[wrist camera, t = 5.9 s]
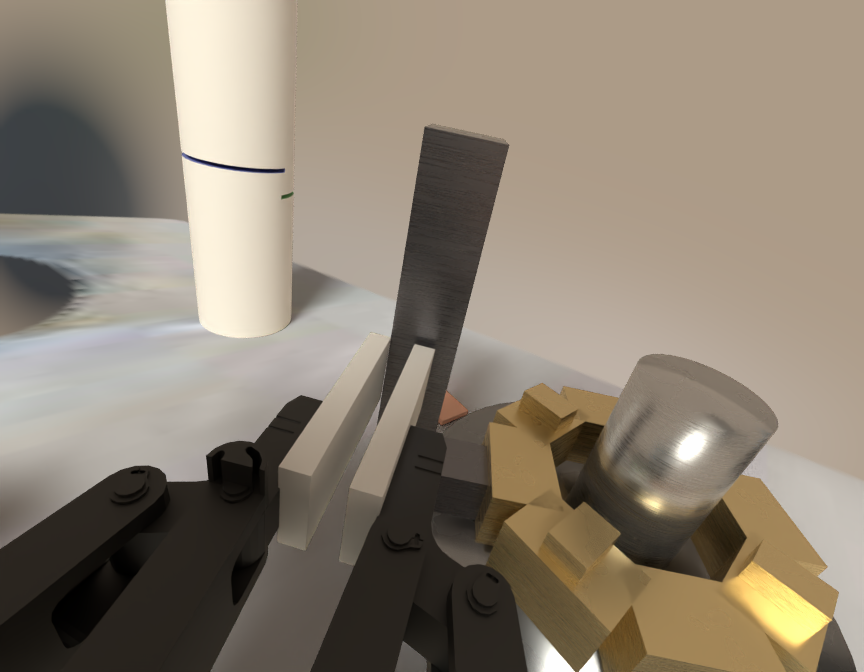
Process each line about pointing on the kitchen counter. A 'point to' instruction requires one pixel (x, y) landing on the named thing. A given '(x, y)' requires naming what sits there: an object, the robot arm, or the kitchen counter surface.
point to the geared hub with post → (573, 441)
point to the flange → (648, 480)
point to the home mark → (451, 409)
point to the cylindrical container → (238, 156)
